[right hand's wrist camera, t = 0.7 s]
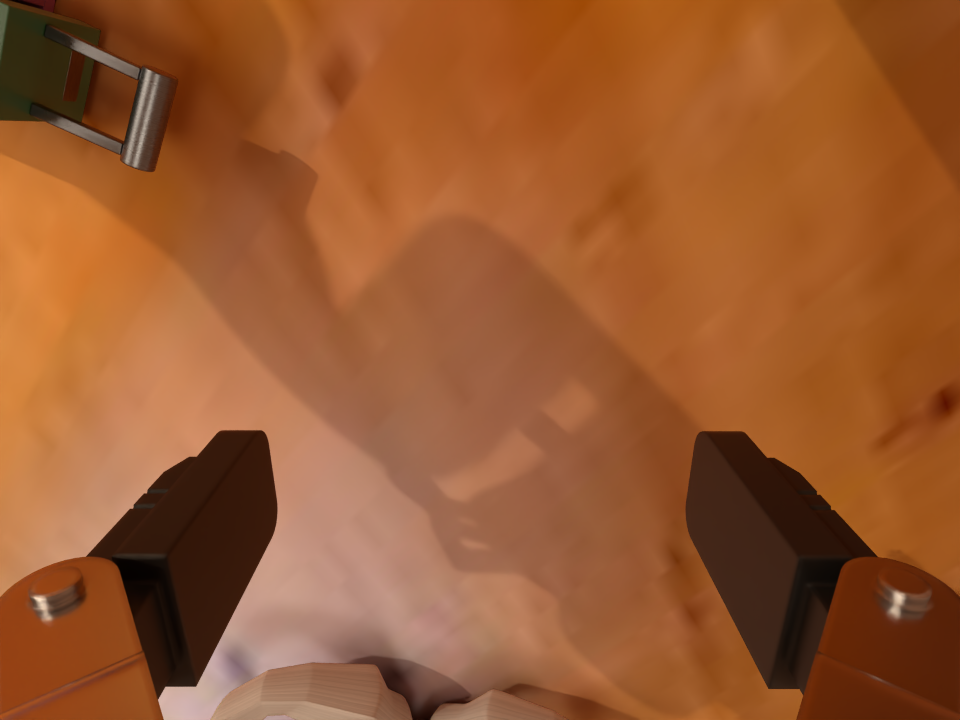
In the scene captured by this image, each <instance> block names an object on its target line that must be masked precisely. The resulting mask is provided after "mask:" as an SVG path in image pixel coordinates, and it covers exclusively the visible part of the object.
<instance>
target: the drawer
mask: <svg viewBox="0 0 960 720" xmlns="http://www.w3.org/2000/svg"><path fill="white" fill-rule="evenodd" d="M100 32H101V31H100V30H99V29H97V28H95V27H93V26H91V25H88V24H86V23H84V22H82V21H80V20H77V19H74V18H70V17H67V16H63V15H59V14H56V13H52V12H49V11H45V10H42V9H38V8H35V7H31V6H27V5H24V4H20V3H17V2H13V1H10V0H0V120H6V121H44V122H47V123H49V124H52V125H54V126H56V127H58V128H61V129H63V130H65V131H67V132H70V133H72V134H74V135H76V136H78V137H81V138H83V139H85V140H87V141H90V142H92V143H94V144H96V145H99V146H101V147H103V148H105V149H108V150H110V151H112V152H114V153H117V154H119V155H121V157H120V160H121V161H122V162H123V163H124V164H126V165H128V166H130V167H133V168H135V169H138V170H142V171H146V172H154V171H155V169H156V165H157V161H158V157H159V153H160V149H161V145H162V142H163V138H164V134H165V130H166V126H167V122H168V118H169V115H170V111H171V107H172V103H173V99H174V95H175V91H176V88H177V84H178V79H177V78H176V77H174V76H172V75H170V74H168V73H166V72H164V71H162V70H159V69H157V68H154V67H151V66H148V65H143V66H142V67H141V66H139V65H136V64H134V63H132V62H130V61H128V60H126V59H124V58H122V57H119V56H117V55H115V54H113V53H111V52H109V51H107V50H104V49H102V48H100V47H98V42H99V37H100ZM94 61H97V62H99V63H101V64H103V65H105V66H108V67H110V68H112V69H114V70H116V71H118V72H120V73H123V74H125V75H127V76H129V77H131V78H133V79H135V80H139V81H138V86H137V90H136V94H135V98H134V102H133V107H132V111H131V115H130V119H129V124H128V128H127V132H126V136H125V140H124V141H122V140H120V139H117V138H115V137H113V136H111V135H109V134H106V133H104V132H102V131H100V130H97V129H95V128H93V127H91V126H89V125H86V124H84V123H82V117H83V113H84V108H85V103H86V98H87V94H88V89H89V84H90V80H91V75H92V70H93V65H94Z"/></svg>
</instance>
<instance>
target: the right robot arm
mask: <svg viewBox="0 0 960 720" xmlns="http://www.w3.org/2000/svg"><path fill="white" fill-rule="evenodd" d="M276 521H277V498H276V491H275V484H274V477H273V470H272V463H271V456H270V449H269V443H268V439H267V436H266V434H265V432H263V431H261V430H223V431H219V432H218V433H217V434H216V435H215V436H214V438H213V439H212V440H211V441H210V442H209V443H208V444H207V446H206V447H205V448H204V449H203V450H202V451H201V453H200V454H199V455H198V456H197V457H188V458H187V459H185V460H183V461H182V462H180V463H178V464H177V465H175V466H173V467H172V468H170V469H168V470H167V471H165V472H164V473H163V474H162V475H161V476H160V477H159V478H158V479H157V480H156V481H155V482H154V483H153V484H152V486H151V487H150V488H149V489H148V492H147V494H143V495H142V496H141V497H140V499H139V500H138V501H137V502H136V503H135V504H134V508H133V509H129V511H128V512H127V513H126V514H125V515H124V516H123V517H122V518H121V519H120V520H119V521H118V522H117V524H116V525H115V526H114V527H113V528H112V529H111V530H110V531H109V532H108V533H107V534H106V535H105V537H104V538H103V539H102V540H101V541H100V542H99V543H98V544H97V545H96V546H95V547H94V549H93V550H92V551H91V552H90V553H89V554H88V555H87V556H86V557H80V558H73V559H69V560H64V561H61V562H58V563H54V564H52V565H49V566H46V567H44V568H42V569H40V570H37V571H35V572H33V573H31V574H30V575H28V576H26V577H24V578H23V579H21V580H20V581H18V582H17V583H15V584H14V585H13V586H12V587H10V588H9V589H8V590H7V591H6V592H5V593H4V594H3V595H2V596H1V597H0V720H164V719H163V716H162V712H161V709H160V706H159V702H158V699H159V697H160V695H161V693H162V692H163V690H164V688H165V687H196V686H197V684H198V682H199V680H200V678H201V676H202V674H203V672H204V670H205V668H206V666H207V664H208V662H209V660H210V658H211V656H212V654H213V652H214V650H215V648H216V647H217V645H218V643H219V641H220V639H221V637H222V635H223V633H224V631H225V629H226V627H227V625H228V623H229V621H230V619H231V617H232V615H233V613H234V611H235V609H236V607H237V605H238V603H239V601H240V599H241V597H242V595H243V593H244V592H245V590H246V588H247V586H248V584H249V582H250V580H251V578H252V576H253V574H254V572H255V570H256V568H257V566H258V564H259V562H260V560H261V558H262V556H263V554H264V552H265V550H266V548H267V546H268V544H269V542H270V540H271V538H272V536H273V534H274V531H275V527H276ZM686 521H687V527H688V531H689V534H690V537H691V539H692V541H693V543H694V545H695V547H696V549H697V551H698V553H699V555H700V557H701V559H702V561H703V563H704V565H705V566H706V568H707V570H708V572H709V574H710V576H711V578H712V580H713V582H714V584H715V586H716V588H717V590H718V592H719V594H720V596H721V598H722V599H723V601H724V603H725V605H726V607H727V609H728V611H729V613H730V615H731V617H732V619H733V621H734V623H735V625H736V627H737V629H738V631H739V632H740V634H741V636H742V638H743V640H744V642H745V644H746V646H747V648H748V650H749V652H750V654H751V656H752V658H753V660H754V662H755V664H756V665H757V667H758V669H759V671H760V673H761V675H762V677H763V679H764V681H765V683H766V685H767V687H768V689H800V690H801V692H802V694H803V699H802V702H801V706H800V709H799V712H798V716H797V719H796V720H960V597H959V596H958V595H957V594H956V593H955V592H954V591H953V590H952V589H951V588H950V587H948V586H947V585H946V584H945V583H943V582H942V581H940V580H939V579H937V578H936V577H934V576H932V575H930V574H929V573H927V572H925V571H923V570H920V569H918V568H916V567H914V566H911V565H908V564H906V563H902V562H899V561H896V560H891V559H887V558H880V557H877V556H876V554H875V553H874V552H873V551H872V550H871V549H870V548H869V547H868V546H867V545H866V544H865V543H864V542H863V540H862V539H861V538H860V537H859V536H858V535H857V534H856V533H855V532H854V531H853V530H852V529H851V528H850V526H849V525H848V524H847V523H846V522H845V521H844V520H843V519H842V518H841V517H840V516H839V515H838V514H837V512H836V511H835V510H831V506H830V505H829V504H828V503H827V502H826V501H825V500H824V498H823V497H822V496H821V495H817V491H816V490H815V489H814V488H813V487H812V486H811V485H810V483H809V482H808V481H807V480H806V479H805V478H804V477H803V476H802V475H801V474H800V473H799V472H797V471H795V470H794V469H792V468H790V467H789V466H787V465H785V464H784V463H782V462H780V461H779V460H777V459H775V458H767V457H766V456H765V455H764V454H763V453H762V452H761V450H760V449H759V448H758V447H757V446H756V445H755V443H754V442H753V441H752V440H751V439H750V438H749V437H748V435H747V434H746V433H744V432H741V431H702V432H700V433H699V434H698V435H697V438H696V441H695V445H694V452H693V459H692V465H691V472H690V479H689V486H688V493H687V500H686Z"/></svg>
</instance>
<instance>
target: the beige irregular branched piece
mask: <svg viewBox="0 0 960 720" xmlns="http://www.w3.org/2000/svg"><path fill="white" fill-rule="evenodd" d="M275 715H286V716H289V717H291V718H293V719H296V720H412V716H411V712H410V708H409V705H408V703H407V701H406V699H405V698H404V697H403V695H401V694H399V693H397V692H394V691H392V690H390V689H388V688H387V686H386V684H385V682H384V680H383V677H382V675H381V673H380V671H379V669H378V667H377V666H376V665H372V664H343V663H307V664H301V665H295V666H289V667H283V668H277V669H271V670H268V671H266V672H264V673H262V674H261V675H259V676H257V677H255V678H254V679H252V680H250V681H248V682H247V683H245V684H243V685H241V686H240V687H238V688H236V689H234V690H233V691H231V692H230V693H229V694H228V695H227V696H226V697H225V698H224V699H223V700H222V702H221V703H220V704H219V706H218V707H217V709H216V711H215V713H214V714H213V716H212V718H211V720H263V719H264V718H265V717H266V716H275ZM430 720H568V719H567V718H565V717H563V716H562V715H560V714H559V713H557V712H555V711H553V710H550V709H547V708H545V707H542V706H539V705H537V704H534V703H532V702H529V701H526V700H524V699H521V698H519V697H516V696H513V695H511V694H508V693H505V692H502V691H500V690H497V689H491V690H489V691H488V692H486V693H484V694H483V695H481V696H479V697H478V698H476V699H474V700H472V701H471V702H469V703H466V704H452V703H443V704H441V705H440V706H439V707H438V709H437V710H436V711H435V712H434V714H433V715H432V717H431V719H430Z"/></svg>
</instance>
